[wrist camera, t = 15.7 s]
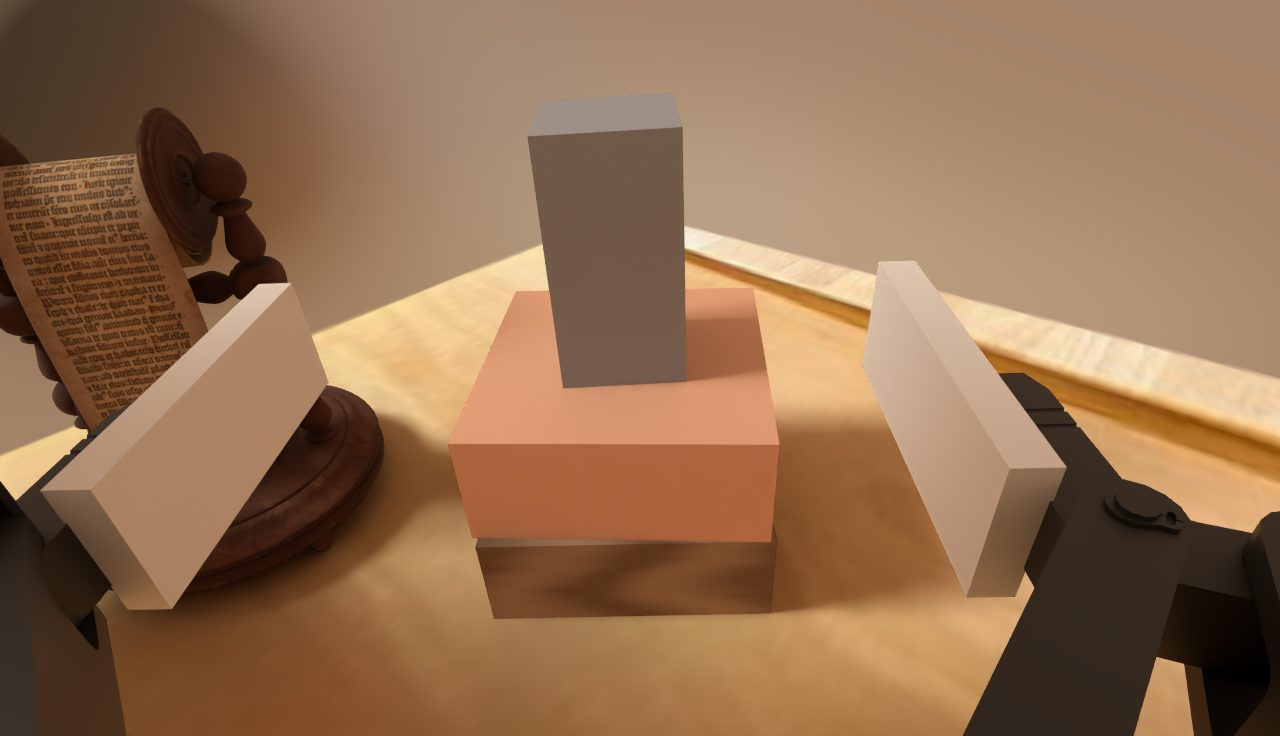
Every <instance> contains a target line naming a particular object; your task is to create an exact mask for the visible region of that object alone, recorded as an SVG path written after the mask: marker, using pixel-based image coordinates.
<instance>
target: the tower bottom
mask: <svg viewBox="0 0 1280 736" xmlns="http://www.w3.org/2000/svg"><path fill="white" fill-rule="evenodd" d="M776 545H777V539H776V534H775V529H774V524H773V525H772V536H771V542H721V541H645V540H569V539H495V538H478V540H477V544H476V547H475V548H476V551H477V555H478V559H479V563H480V567H481V570H482V574H483V578H484V582H485V586H486V589H487V593H488V597H489V601H490V605H491V608H492V612H493V616H494V619H503V618H554V617H606V616H657V615H709V614H760V613H770V608H771V597H772V587H773V576H774V566H775V556H776Z"/></svg>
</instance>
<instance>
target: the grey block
mask: <svg viewBox="0 0 1280 736" xmlns="http://www.w3.org/2000/svg"><path fill="white" fill-rule="evenodd" d="M682 134H683V131H682V124H681V121H680V117H679V114H678V111H677V107H676V104H675V101H674V97H673V94H672V93H663V94H647V95H629V96H612V97H597V98H579V99H563V100H547V101H542V102H541V104H540V107H539V109H538V112H537V114H536V117H535V119H534V122H533V124H532V127H531V129H530V132H529V134H528V143H529V150H530V156H531V164H532V171H533V178H534V185H535V192H536V200H537V207H538V214H539V221H540V228H541V235H542V242H543V250H544V257H545V264H546V271H547V278H548V285H549V292H550V299H551V307H552V314H553V321H554V328H555V335H556V342H557V349H558V356H559V363H560V371H561V378H562V385H563V388H581V387H598V386H615V385H632V384H650V383H667V382H684V381H687V371H686V311H685V251H684V193H683V135H682Z"/></svg>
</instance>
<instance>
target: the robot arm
mask: <svg viewBox="0 0 1280 736" xmlns="http://www.w3.org/2000/svg"><path fill="white" fill-rule="evenodd" d="M862 367H863V369H864V372H865V374H866V376H867V378H868V381H869V383H870V385H871V387H872V389H873V392H874V394H875V396H876V398H877V401H878V403H879V405H880V407H881V409H882V412H883V414H884V416H885V418H886V421H887V423H888V425H889V427H890V429H891V432H892V434H893V436H894V438H895V440H896V443H897V445H898V447H899V449H900V452H901V454H902V456H903V458H904V460H905V463H906V465H907V467H908V469H909V472H910V474H911V476H912V478H913V480H914V483H915V485H916V487H917V489H918V492H919V494H920V496H921V498H922V500H923V503H924V505H925V507H926V509H927V512H928V514H929V516H930V518H931V520H932V523H933V525H934V527H935V529H936V531H937V534H938V536H939V538H940V540H941V543H942V545H943V547H944V549H945V551H946V554H947V556H948V558H949V560H950V563H951V565H952V567H953V569H954V571H955V574H956V576H957V578H958V580H959V583H960V585H961V587H962V589H963V591H964V594H965V596H966V597H1015V596H1016V593H1017V591H1018V588H1019V586H1020V583H1021V581H1022V578H1023V576H1024V573H1025V572H1026V573H1027V575H1028V577H1029V579H1030V581H1031V582H1032V584H1033V586H1034V590H1033V592H1032V594H1031V596H1030V598H1029V600H1028V602H1027V605H1026V607H1025V609H1024V611H1023V613H1022V615H1021V617H1020V619H1019V621H1018V623H1017V625H1016V627H1015V629H1014V631H1013V633H1012V635H1011V637H1010V640H1009V642H1008V644H1007V646H1006V648H1005V650H1004V652H1003V654H1002V656H1001V658H1000V660H999V662H998V664H997V666H996V668H995V670H994V672H993V675H992V677H991V679H990V681H989V683H988V685H987V687H986V689H985V691H984V693H983V695H982V697H981V699H980V701H979V703H978V705H977V707H976V710H975V712H974V714H973V716H972V718H971V720H970V722H969V724H968V726H967V728H966V730H965V732H964V734H963V736H1134V732H1135V729H1136V726H1137V722H1138V719H1139V715H1140V712H1141V708H1142V705H1143V701H1144V698H1145V694H1146V691H1147V687H1148V684H1149V681H1150V677H1151V674H1152V670H1153V667H1154V663H1155V660H1156V657H1159V658H1163V659H1167V660H1171V661H1175V662H1179V663H1183V664H1184V666H1185V673H1186V680H1187V688H1188V695H1189V702H1190V709H1191V717H1192V724H1193V731H1194V736H1280V511H1278V512H1271V513H1270V514H1268V515H1267V516H1265V517H1264V518H1263V519H1261V521H1260V522H1259V524H1258V525H1257V527H1256V528H1255V530H1254V531H1253V533H1249V532H1244V531H1239V530H1234V529H1229V528H1224V527H1219V526H1213V525H1208V524H1203V523H1198V522H1195V521H1191V520H1190V519H1189V518H1188V516H1187V515H1186V513H1185V512H1184V511H1183V509H1182V508H1181V507H1180V506H1179V505H1178V504H1176V503H1175V502H1174V501H1172V500H1171V499H1170V498H1169V497H1167V496H1166V495H1164V494H1162V493H1160V492H1158V491H1156V490H1154V489H1152V488H1150V487H1148V486H1146V485H1143V484H1139V483H1135V482H1132V481H1128V480H1124V479H1122V478H1121V477H1120V476H1119V475H1118V473H1117V472H1116V471H1115V470H1114V469H1113V467H1112V466H1111V465H1110V464H1109V462H1108V461H1107V460H1106V459H1105V458H1104V456H1103V455H1102V454H1101V453H1100V451H1099V450H1098V449H1097V448H1096V447H1095V445H1094V444H1093V443H1092V442H1091V440H1090V439H1089V438H1088V437H1087V436H1086V434H1085V433H1084V432H1083V431H1082V429H1081V428H1080V427H1077V426H1076V424H1077V423H1076V422H1075V421H1074V420H1073V418H1072V417H1071V416H1070V415H1069V414H1068V412H1064V407H1063V406H1062V405H1061V404H1060V403H1059V401H1058V400H1057V399H1056V398H1055V396H1054V395H1053V394H1052V393H1051V391H1050V390H1049V389H1048V388H1046V387H1045V386H1043V385H1041V384H1040V383H1038V382H1037V381H1035V380H1034V379H1032V378H1031V377H1029V376H1028V375H1026V374H1024V373H1001V374H998V373H997V372H996V370H995V369H994V368H993V366H992V365H991V364H990V362H989V361H988V360H987V358H986V357H985V356H984V354H983V353H982V351H981V350H980V349H979V347H978V346H977V345H976V343H975V342H974V341H973V339H972V338H971V336H970V335H969V334H968V332H967V331H966V330H965V328H964V327H963V326H962V324H961V323H960V322H959V320H958V319H957V317H956V316H955V315H954V313H953V312H952V311H951V309H950V308H949V307H948V305H947V304H946V302H945V301H944V300H943V298H942V297H941V296H940V294H939V293H938V292H937V290H936V289H935V288H934V286H933V285H932V283H931V282H930V281H929V279H928V278H927V277H926V275H925V274H924V273H923V271H922V270H921V269H920V267H919V266H918V264H917V263H916V262H915V261H890V262H879V265H878V272H877V278H876V284H875V290H874V297H873V303H872V309H871V315H870V322H869V328H868V334H867V340H866V347H865V353H864V359H863V365H862ZM327 384H328V380H327V377H326V374H325V371H324V369H323V366H322V363H321V361H320V358H319V355H318V353H317V350H316V347H315V344H314V342H313V339H312V336H311V334H310V331H309V328H308V326H307V323H306V320H305V317H304V315H303V312H302V309H301V307H300V304H299V301H298V299H297V296H296V293H295V290H294V288H293V285H292V283H275V284H258V285H257V286H256V287H255V288H254V289H253V290H252V291H251V292H250V293H249V294H248V295H247V296H246V297H245V298H244V299H242V300H241V301H240V302H239V303H238V304H237V305H236V306H235V307H234V308H233V309H232V310H231V311H230V312H229V313H228V314H227V315H226V316H224V317H223V318H222V319H221V320H220V321H219V322H218V323H217V324H216V325H215V326H214V327H213V328H212V329H211V330H210V331H209V332H208V333H206V334H205V335H204V336H203V337H202V338H201V339H200V340H199V341H198V342H197V343H196V344H195V345H194V346H193V347H192V348H191V349H190V350H188V351H187V352H186V353H185V354H184V355H183V356H182V357H181V358H180V359H179V360H178V361H177V362H176V363H175V364H174V365H173V366H172V367H170V368H169V369H168V370H167V371H166V372H165V373H164V374H163V375H162V376H161V377H160V378H159V379H158V380H157V381H156V382H155V383H154V384H152V385H151V386H150V387H149V388H148V389H147V390H146V391H145V392H144V393H143V394H142V395H141V396H140V397H139V398H138V399H137V400H134V401H133V402H131V403H129V404H128V405H126V406H124V407H122V408H121V409H119V410H117V411H116V412H114V413H112V414H111V415H109V416H107V417H106V418H105V419H104V420H103V421H102V422H101V423H100V424H99V425H97V426H96V427H95V428H94V429H93V430H92V431H91V432H90V433H89V434H88V435H87V439H82V440H81V441H80V442H79V443H78V444H77V445H76V446H75V447H74V448H73V449H72V450H70V452H71V453H70V455H65V456H64V457H63V458H62V459H61V460H60V461H59V462H57V463H56V464H55V465H54V466H53V467H52V468H51V469H50V470H49V471H48V472H47V473H46V474H45V475H43V476H42V477H41V478H40V479H39V480H38V481H37V482H36V483H35V484H34V485H33V486H32V487H30V488H29V489H28V490H27V491H26V492H25V493H24V494H23V495H22V496H21V497H20V498H19V499H17V500H16V501H15V499H14V498H13V497H12V496H11V494H10V493H9V492H8V490H7V489H6V488H5V487H4V485H3V484H2V483H1V481H0V736H127V735H126V729H125V724H124V718H123V712H122V707H121V701H120V695H119V689H118V684H117V678H116V672H115V667H114V661H113V655H112V650H111V644H110V638H109V632H108V627H107V621H106V618H105V617H104V615H103V614H102V612H101V611H100V609H99V608H98V607H97V606H96V604H97V603H98V602H99V601H100V599H101V598H102V597H103V596H104V594H105V593H106V592H107V591H108V589H109V588H110V587H111V588H112V589H113V590H114V592H115V593H116V594H117V596H118V597H119V599H120V600H121V601H122V603H123V604H124V605H125V607H126V608H127V609H128V610H149V609H172V608H173V607H174V605H175V604H176V602H177V601H178V599H179V598H180V596H181V595H182V594H183V592H184V591H185V589H186V588H187V586H188V585H189V583H190V582H191V581H192V579H193V578H194V576H195V575H196V573H197V572H198V570H199V569H200V568H201V566H202V565H203V563H204V562H205V560H206V559H207V557H208V556H209V555H210V553H211V552H212V550H213V549H214V547H215V546H216V544H217V543H218V542H219V540H220V539H221V537H222V536H223V534H224V533H225V531H226V530H227V529H228V527H229V526H230V524H231V523H232V521H233V520H234V518H235V517H236V516H237V514H238V513H239V511H240V510H241V508H242V507H243V505H244V504H245V502H246V501H247V500H248V498H249V497H250V495H251V494H252V492H253V491H254V489H255V488H256V487H257V485H258V484H259V482H260V481H261V479H262V478H263V476H264V475H265V474H266V472H267V471H268V469H269V468H270V466H271V465H272V463H273V462H274V461H275V459H276V458H277V456H278V455H279V453H280V452H281V450H282V449H283V448H284V446H285V445H286V443H287V442H288V440H289V439H290V437H291V436H292V435H293V433H294V432H295V430H296V429H297V427H298V426H299V424H300V423H301V422H302V420H303V419H304V417H305V416H306V414H307V413H308V411H309V410H310V409H311V407H312V406H313V404H314V403H315V401H316V400H317V398H318V397H319V395H320V394H321V393H322V391H323V390H324V388H325V387H326V385H327Z"/></svg>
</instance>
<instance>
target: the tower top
mask: <svg viewBox="0 0 1280 736" xmlns="http://www.w3.org/2000/svg"><path fill="white" fill-rule="evenodd" d="M685 311H686V371H687V381H684V382H667V383H650V384H632V385H615V386H598V387H581V388H563V385H562V378H561V371H560V363H559V356H558V349H557V342H556V335H555V328H554V321H553V314H552V307H551V299H550V292H549V291H516V293H515V295H514V297H513V299H512V302H511V304H510V306H509V308H508V310H507V313H506V315H505V317H504V319H503V322H502V324H501V326H500V328H499V331H498V333H497V335H496V337H495V339H494V342H493V344H492V346H491V348H490V351H489V353H488V355H487V357H486V359H485V362H484V364H483V366H482V368H481V371H480V373H479V375H478V377H477V380H476V382H475V384H474V386H473V388H472V391H471V393H470V395H469V397H468V400H467V402H466V404H465V406H464V408H463V411H462V413H461V415H460V417H459V420H458V422H457V424H456V426H455V429H454V431H453V433H452V435H451V437H450V440H449V442H448V447H449V451H450V455H451V458H452V462H453V466H454V470H455V474H456V477H457V481H458V485H459V489H460V492H461V496H462V500H463V504H464V508H465V511H466V515H467V519H468V523H469V527H470V530H471V534H472V538H495V539H569V540H645V541H721V542H771V536H772V525H773V514H774V502H775V491H776V480H777V468H778V457H779V446H780V444H779V438H778V432H777V427H776V421H775V415H774V409H773V403H772V397H771V391H770V385H769V380H768V374H767V368H766V362H765V356H764V350H763V344H762V338H761V333H760V327H759V321H758V315H757V309H756V303H755V297H754V291H753V288H719V289H685Z"/></svg>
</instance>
